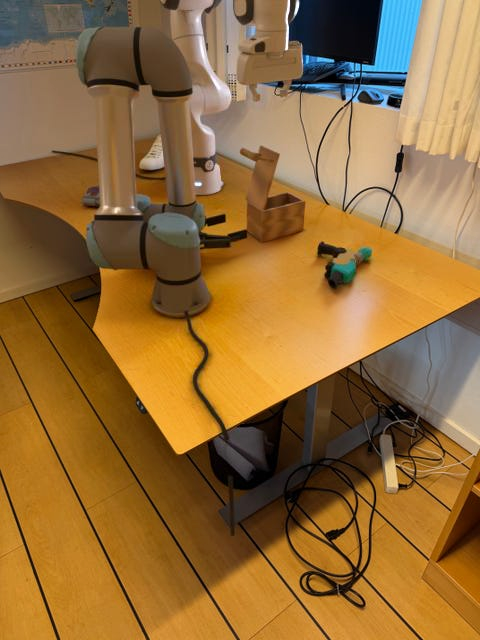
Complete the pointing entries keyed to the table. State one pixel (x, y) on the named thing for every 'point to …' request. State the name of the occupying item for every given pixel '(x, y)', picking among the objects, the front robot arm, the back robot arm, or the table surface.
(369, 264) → the table surface
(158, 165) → the sneaker
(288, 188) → the table surface
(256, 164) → the lid
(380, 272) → the table surface
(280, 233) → the chest
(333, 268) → the toy gun
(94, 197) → the toy gun
